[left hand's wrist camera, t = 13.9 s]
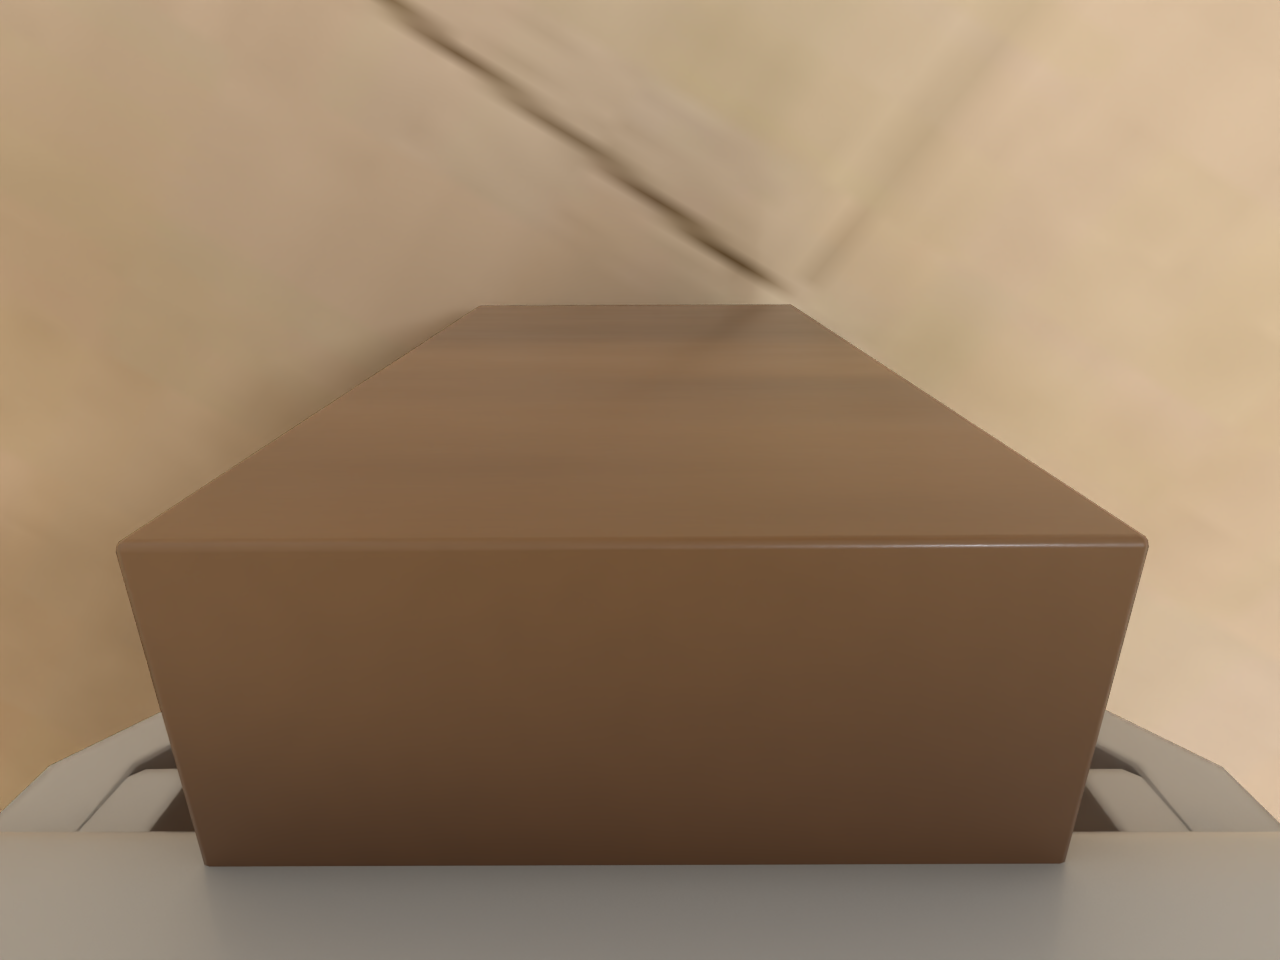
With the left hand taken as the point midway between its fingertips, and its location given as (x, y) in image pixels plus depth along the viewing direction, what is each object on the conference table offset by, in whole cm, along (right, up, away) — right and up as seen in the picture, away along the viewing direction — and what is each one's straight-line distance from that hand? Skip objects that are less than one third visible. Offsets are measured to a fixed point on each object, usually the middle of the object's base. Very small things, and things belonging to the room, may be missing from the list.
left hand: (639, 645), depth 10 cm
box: (0, -8, +8) cm, 11 cm away
